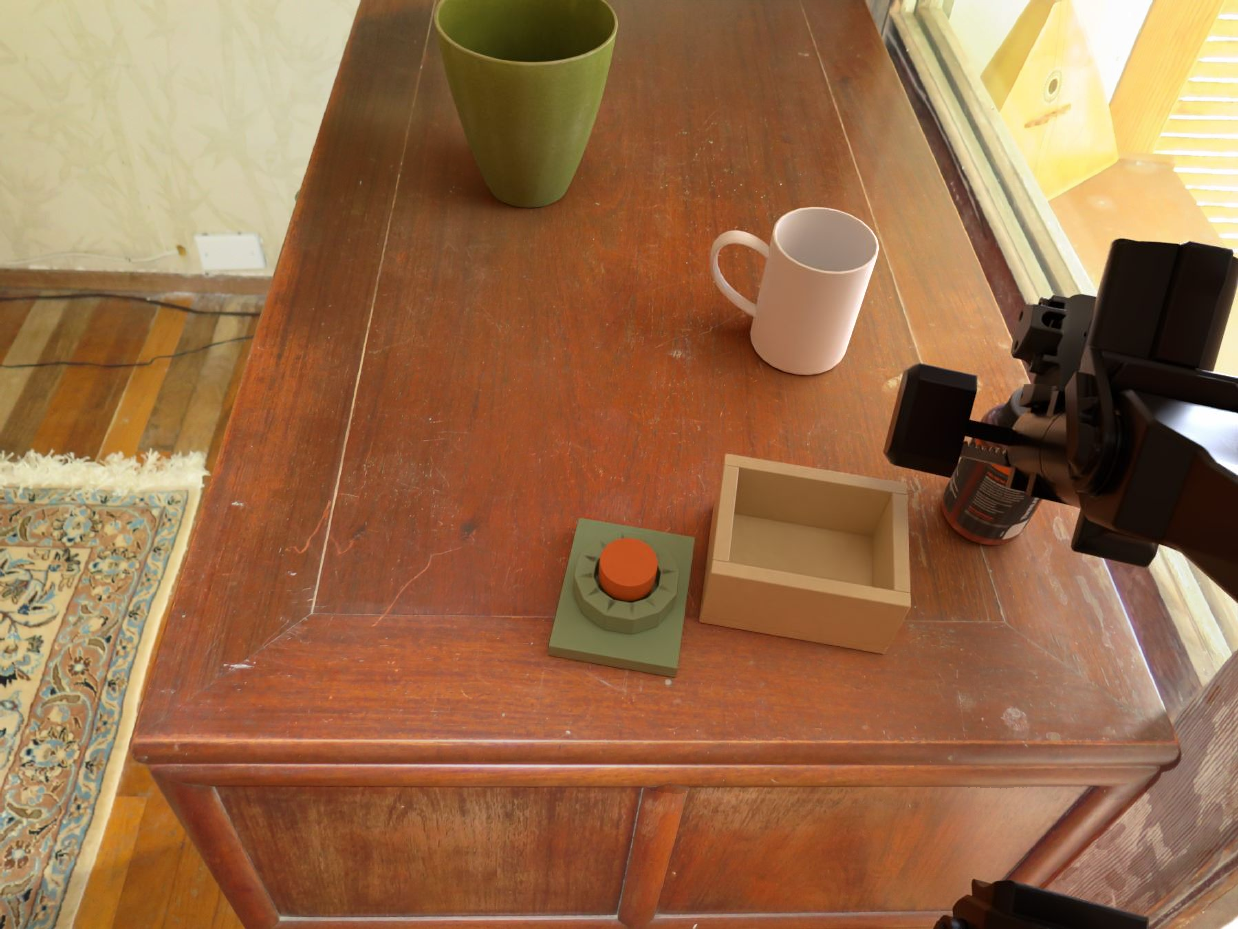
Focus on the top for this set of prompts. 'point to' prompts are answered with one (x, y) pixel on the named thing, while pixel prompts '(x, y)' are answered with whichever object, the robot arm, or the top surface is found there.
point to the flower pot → (527, 87)
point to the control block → (623, 603)
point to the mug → (805, 287)
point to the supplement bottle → (988, 490)
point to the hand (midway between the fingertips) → (1016, 440)
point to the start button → (627, 569)
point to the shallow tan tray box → (808, 554)
